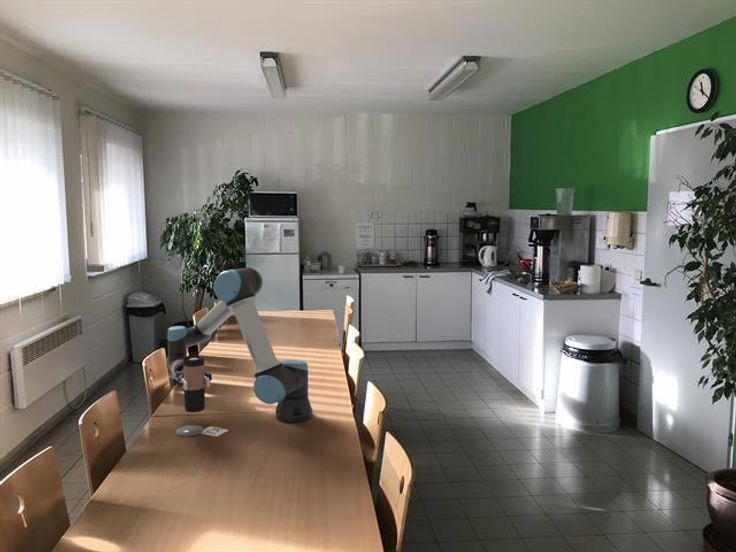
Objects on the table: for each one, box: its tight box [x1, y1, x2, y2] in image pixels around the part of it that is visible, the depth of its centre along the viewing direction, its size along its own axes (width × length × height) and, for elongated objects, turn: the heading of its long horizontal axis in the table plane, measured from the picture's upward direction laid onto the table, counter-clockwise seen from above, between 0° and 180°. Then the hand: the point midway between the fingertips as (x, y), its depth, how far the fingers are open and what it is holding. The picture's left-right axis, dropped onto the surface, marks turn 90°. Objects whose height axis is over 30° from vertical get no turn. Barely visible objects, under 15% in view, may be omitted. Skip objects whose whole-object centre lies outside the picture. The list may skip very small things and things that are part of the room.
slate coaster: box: [175, 424, 205, 438], centre depth 224 cm, size 10×10×1 cm
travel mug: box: [183, 354, 206, 413], centre depth 222 cm, size 8×8×20 cm
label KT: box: [201, 425, 230, 438], centre depth 224 cm, size 9×7×1 cm
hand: (197, 385), depth 218 cm, fingers closed on travel mug, 7 cm apart
